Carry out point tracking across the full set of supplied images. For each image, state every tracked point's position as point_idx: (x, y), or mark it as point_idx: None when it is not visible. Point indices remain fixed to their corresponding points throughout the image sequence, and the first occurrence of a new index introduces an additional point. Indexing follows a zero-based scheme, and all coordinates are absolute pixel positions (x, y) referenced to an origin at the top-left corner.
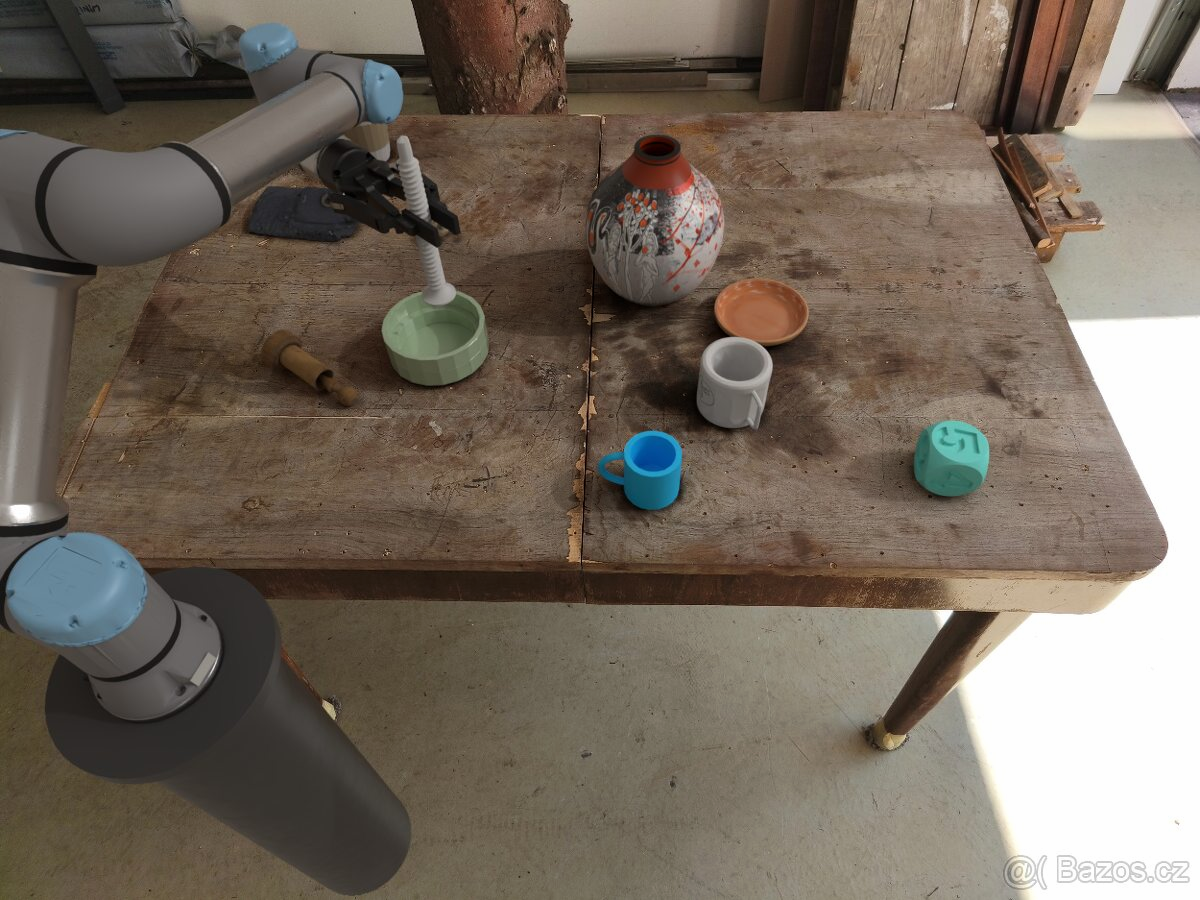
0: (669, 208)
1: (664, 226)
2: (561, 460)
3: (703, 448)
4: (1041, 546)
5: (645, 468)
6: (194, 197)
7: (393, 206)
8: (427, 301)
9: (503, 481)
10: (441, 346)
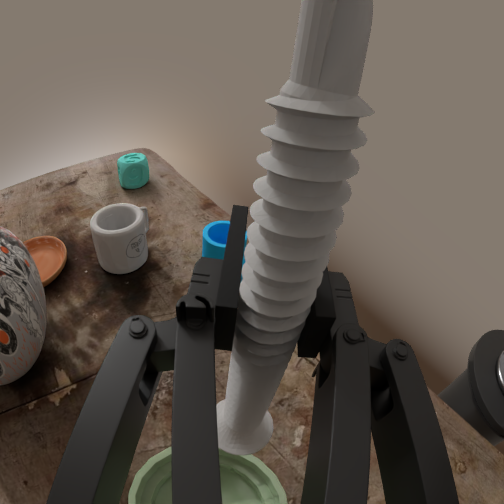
0: None
1: (7, 236)
2: None
3: (171, 256)
4: (156, 161)
5: None
6: None
7: (339, 360)
8: (271, 424)
9: (296, 346)
10: None
